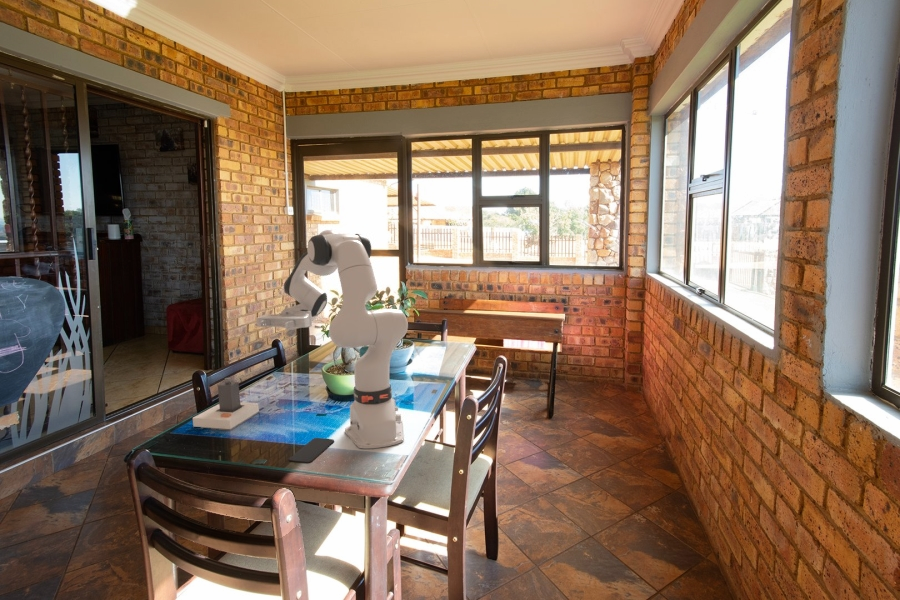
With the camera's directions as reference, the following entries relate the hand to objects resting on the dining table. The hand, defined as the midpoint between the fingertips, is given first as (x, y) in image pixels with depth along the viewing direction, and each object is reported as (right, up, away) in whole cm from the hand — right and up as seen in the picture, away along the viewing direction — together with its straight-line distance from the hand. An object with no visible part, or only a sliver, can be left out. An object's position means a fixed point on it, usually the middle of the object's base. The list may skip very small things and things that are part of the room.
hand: (272, 325), depth 185 cm
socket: (-11, -32, -12) cm, 36 cm away
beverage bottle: (+32, -26, +22) cm, 47 cm away
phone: (+25, -36, -37) cm, 57 cm away
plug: (-11, -32, -10) cm, 35 cm away
